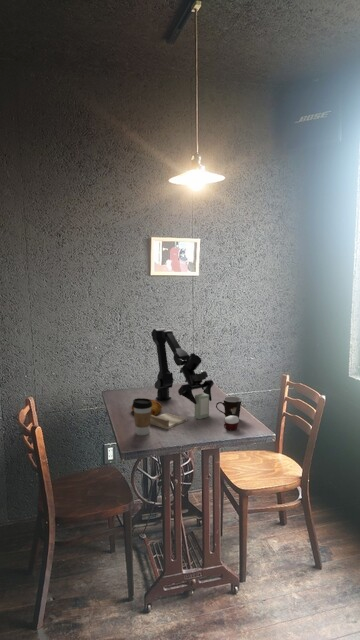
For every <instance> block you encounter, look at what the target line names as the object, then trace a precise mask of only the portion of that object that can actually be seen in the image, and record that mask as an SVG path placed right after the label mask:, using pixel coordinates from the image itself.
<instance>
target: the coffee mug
mask: <svg viewBox="0 0 360 640" xmlns="http://www.w3.org/2000/svg"><path fill="white" fill-rule="evenodd" d="M238 401H241V402H242V398H241V397H238V396H225V397H223V402H222V401H218V402H217V403H216V404H215V408H216V409H217V410H218V411H219V412H220V413H221V414H224V416H225V418H226V417H228V416H230V415H232V416H235V412H236V408H237V404H238ZM219 404H222V405H223V407H224V408H223V409H224V411H222V410H221V409H219V408H218V405H219ZM241 404H242V403H241ZM241 404H240V407H239V411H238V415H237V417H238V418H239V419H240V414H241V408H242V405H241ZM225 418H224V419H225Z"/></svg>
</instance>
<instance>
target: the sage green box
mask: <svg viewBox="0 0 360 640" xmlns="http://www.w3.org/2000/svg"><path fill="white" fill-rule="evenodd" d="M194 398H195V400H196V403H197V404H194V418H196V419H198V420H201V419H205V418H210V400H209V395H208V394H205V393H204V392H203V393H200V394H195V395H194Z"/></svg>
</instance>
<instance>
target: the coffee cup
mask: <svg viewBox="0 0 360 640" xmlns="http://www.w3.org/2000/svg"><path fill="white" fill-rule="evenodd" d="M144 398H145V397H143V398H140V397H138V398H134V399H133V401H132V404H133V407H134V411H133V416H134V418H133V419H134V424H135V434H136V435H138V436H147V435H150V432H151V429H150V428H151V424H150V420H151V407H152V402H151V400H152V399H151V398H146V399H144ZM150 399H151V400H150Z"/></svg>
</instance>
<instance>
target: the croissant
mask: <svg viewBox="0 0 360 640" xmlns="http://www.w3.org/2000/svg"><path fill="white" fill-rule="evenodd" d="M143 398H144V399H147V398H145V397H143ZM149 399H150V400H151V402H152V407H151V415H154V416H158V414H161V412H162V408H163V406H162V403H160V402H159V401H157V400H155V399H151V398H149ZM131 410H132V411H133V412H134V407H133V403H132V405H131Z"/></svg>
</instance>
